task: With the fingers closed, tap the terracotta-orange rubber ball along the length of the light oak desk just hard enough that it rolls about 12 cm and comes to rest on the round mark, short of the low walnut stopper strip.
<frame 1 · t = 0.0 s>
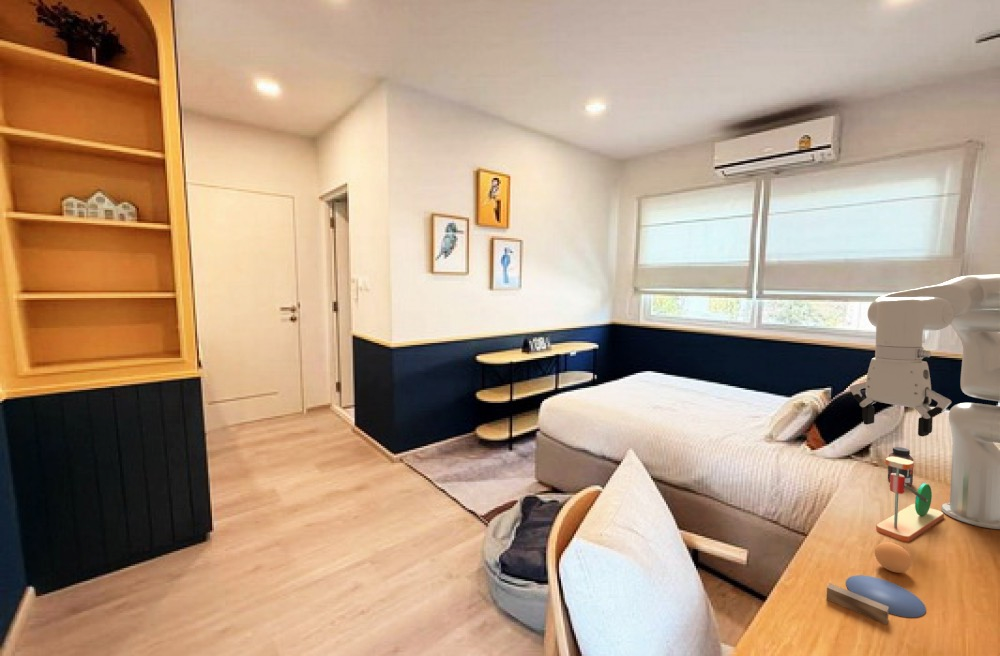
hand: (894, 429, 94), 31 cm above the table, tool pointing down, fingers open, 9 cm apart
ball: (892, 557, 93), on the table
mark: (883, 595, 85), on the table
stopper strip: (856, 608, 82), on the table
supplement bottle: (899, 483, 137), on the table
crank mechanism: (910, 524, 112), on the table
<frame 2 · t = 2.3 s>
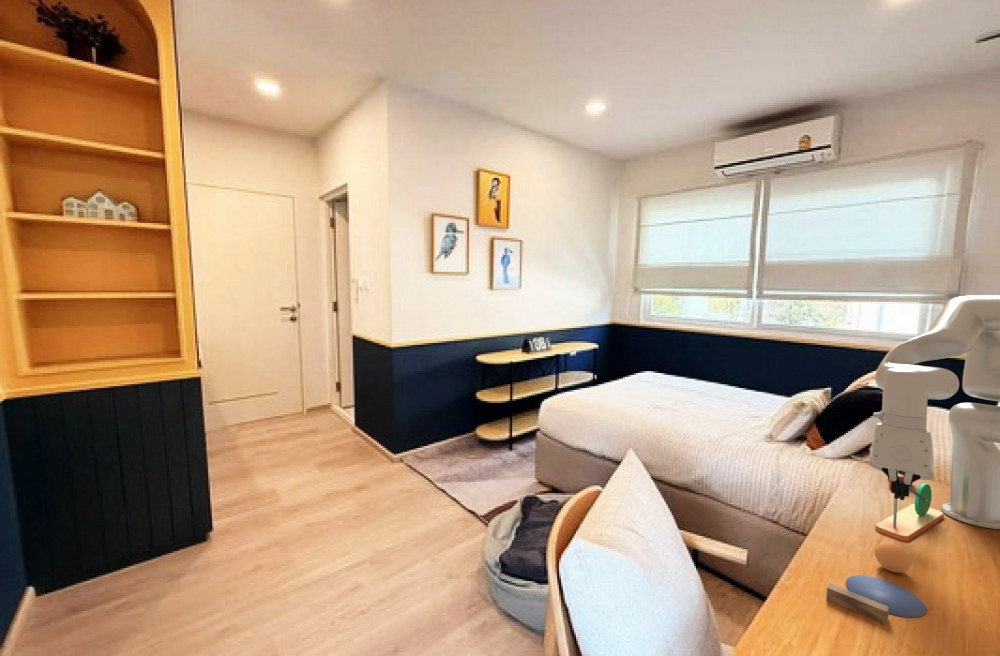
hand: (899, 497, 98), 14 cm above the table, tool pointing down, fingers closed
nothing on the table moved.
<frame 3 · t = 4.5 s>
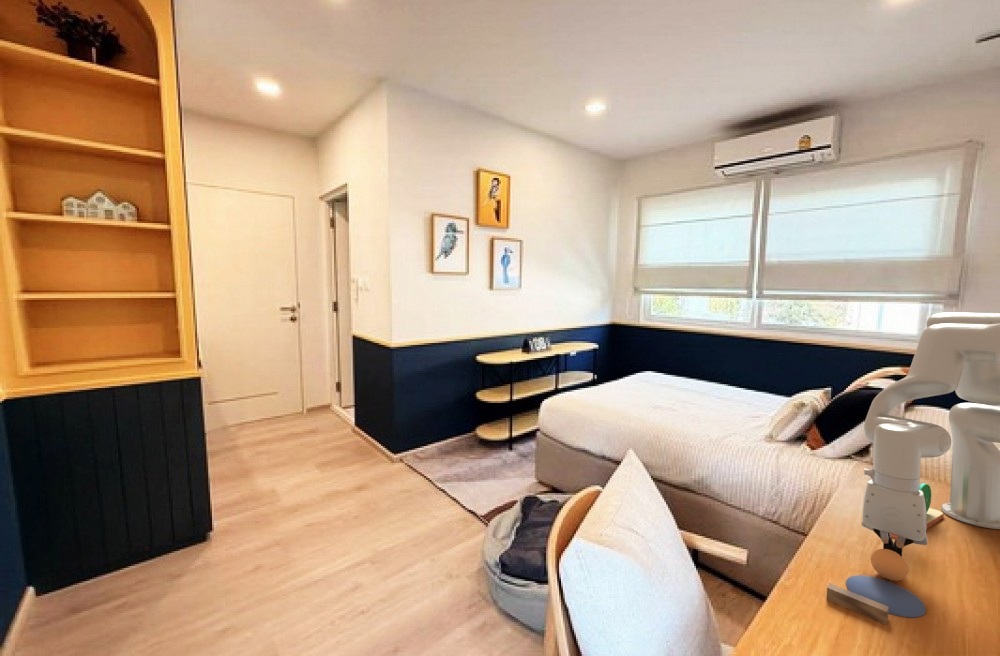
hand: (892, 560, 93), 2 cm above the table, tool pointing down, fingers closed
ball: (889, 564, 90), on the table, touching gripper
everything else where it was.
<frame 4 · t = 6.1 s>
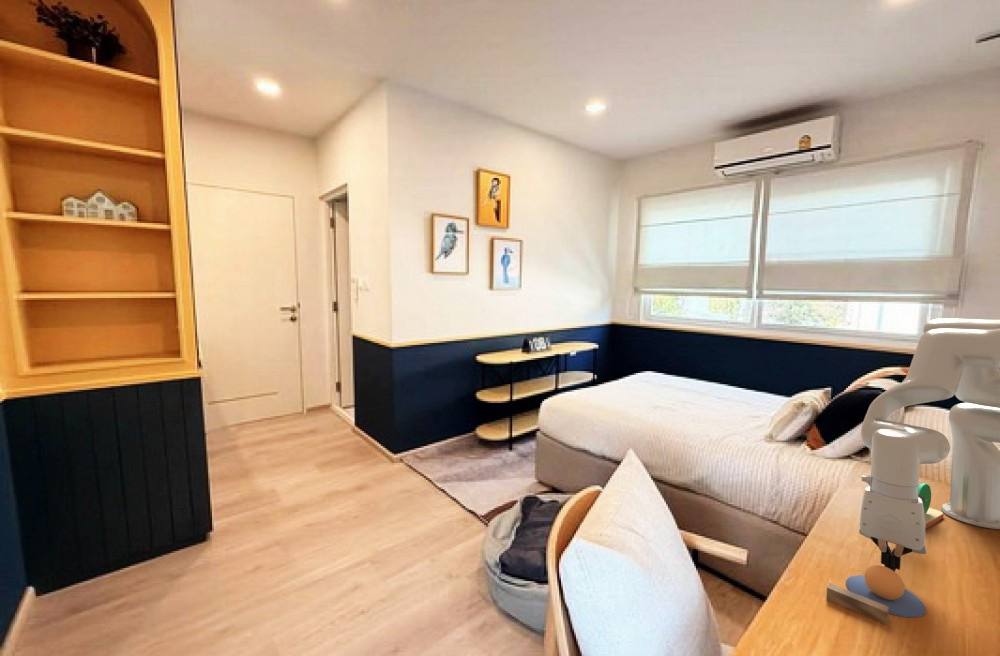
hand: (890, 569, 91), 2 cm above the table, tool pointing down, fingers closed
ball: (884, 582, 85), on the table
everything else where it was.
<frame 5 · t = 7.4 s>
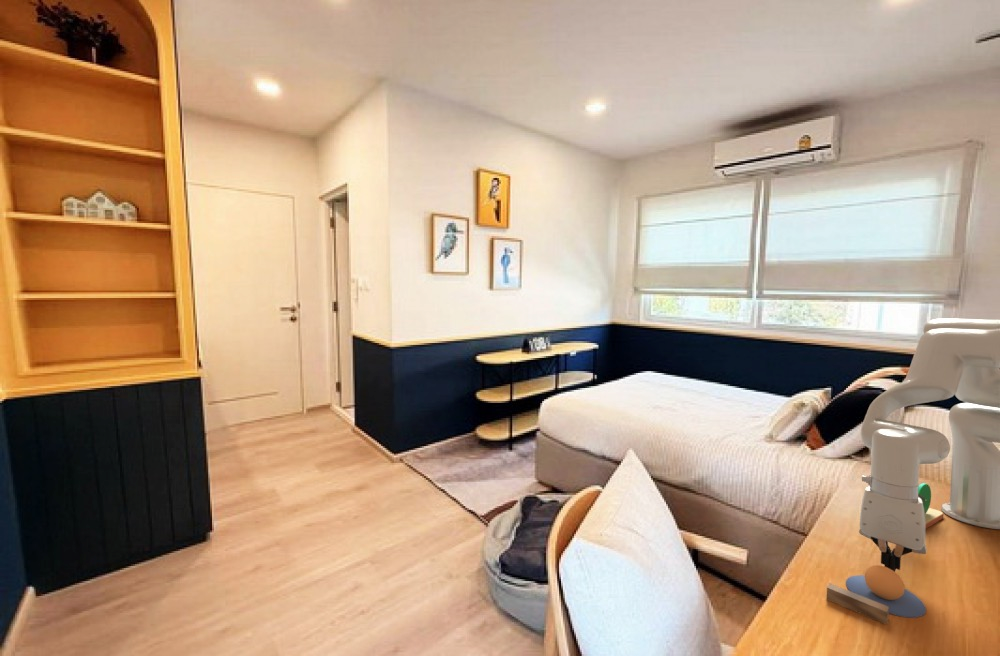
hand: (890, 569, 91), 2 cm above the table, tool pointing down, fingers closed
nothing on the table moved.
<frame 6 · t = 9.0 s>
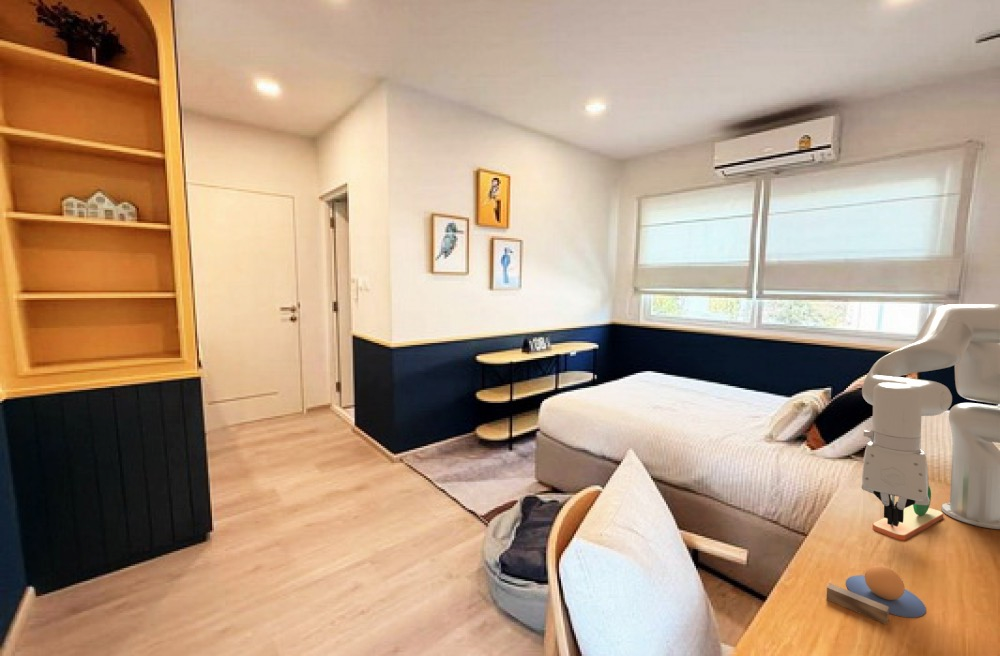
hand: (893, 522, 91), 12 cm above the table, tool pointing down, fingers closed
nothing on the table moved.
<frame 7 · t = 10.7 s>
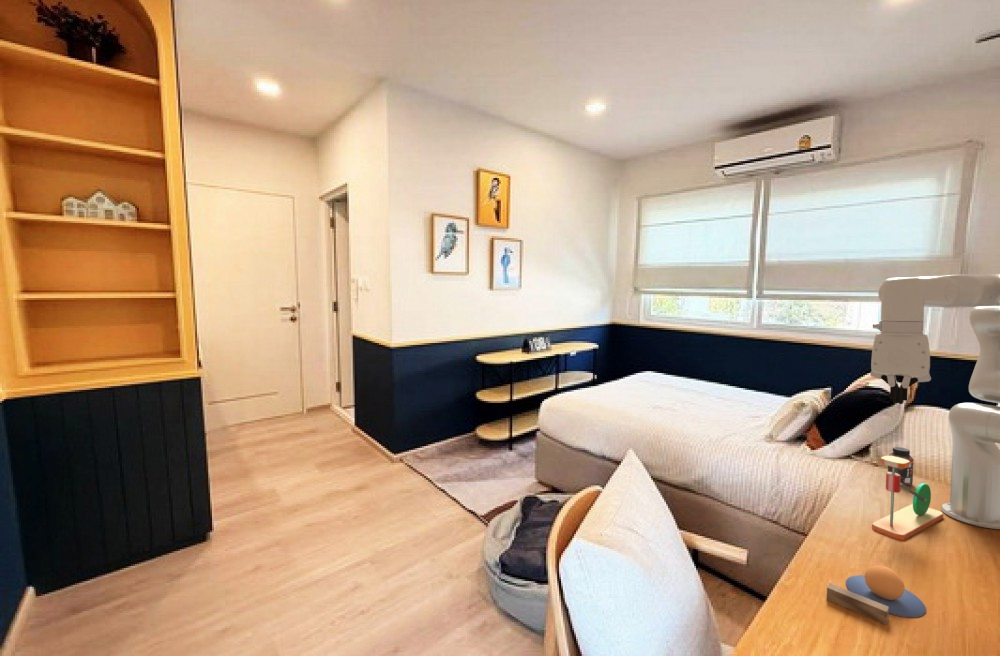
hand: (898, 402, 102), 35 cm above the table, tool pointing down, fingers closed
nothing on the table moved.
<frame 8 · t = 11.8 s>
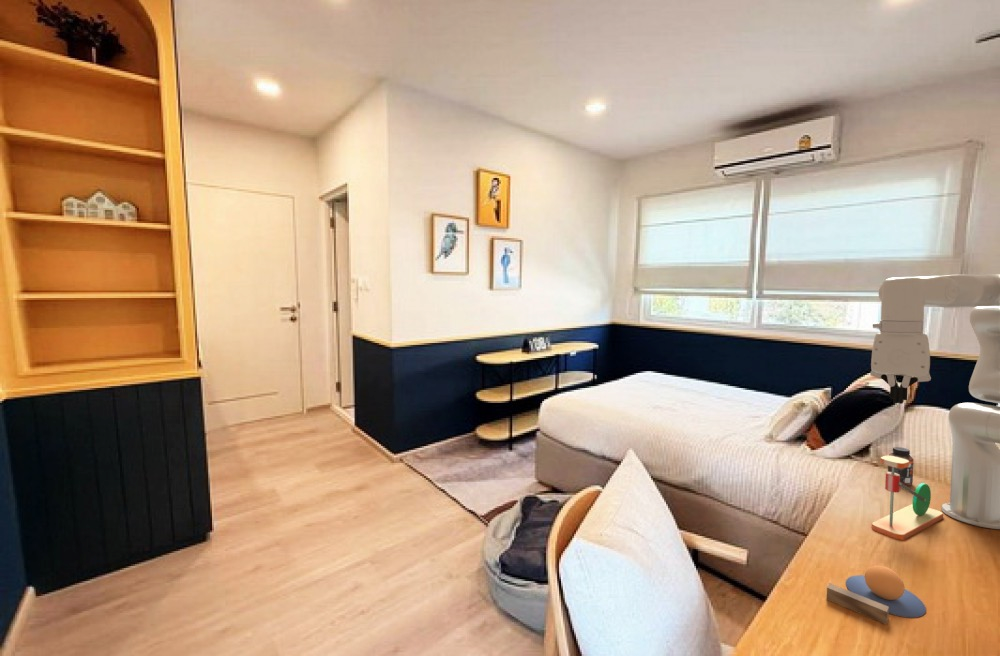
hand: (898, 402, 102), 35 cm above the table, tool pointing down, fingers closed
nothing on the table moved.
at the end: ball 0.5 cm from the mark (horizontally); ball at rest at the end (0.0 cm/s); ball moved 12.5 cm from its start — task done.
